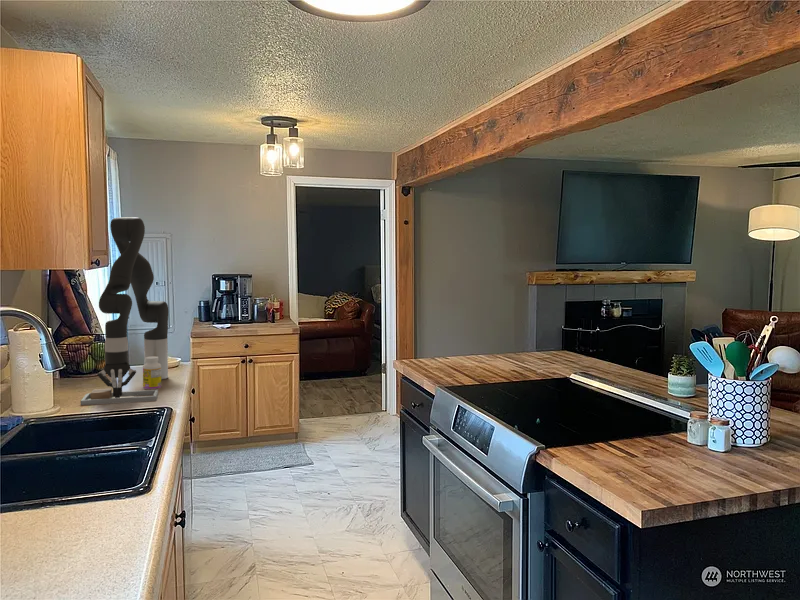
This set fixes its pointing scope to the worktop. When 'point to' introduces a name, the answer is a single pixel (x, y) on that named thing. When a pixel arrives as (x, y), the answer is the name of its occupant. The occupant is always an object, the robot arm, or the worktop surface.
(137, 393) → the tray
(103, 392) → the block
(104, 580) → the worktop surface
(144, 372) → the supplement bottle
